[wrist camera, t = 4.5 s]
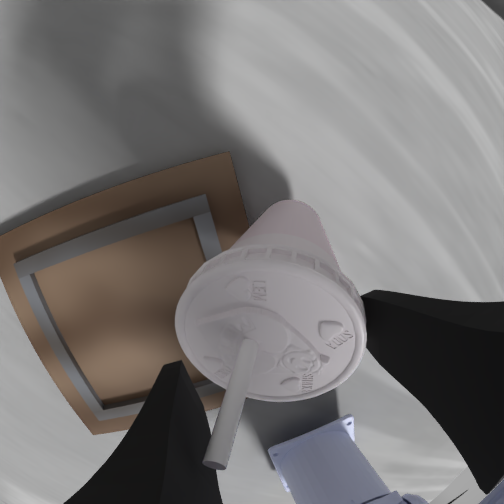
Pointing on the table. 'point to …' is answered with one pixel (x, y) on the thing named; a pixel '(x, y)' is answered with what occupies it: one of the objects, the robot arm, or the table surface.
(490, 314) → the robot arm
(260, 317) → the smoothie
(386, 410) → the table surface
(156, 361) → the holder
